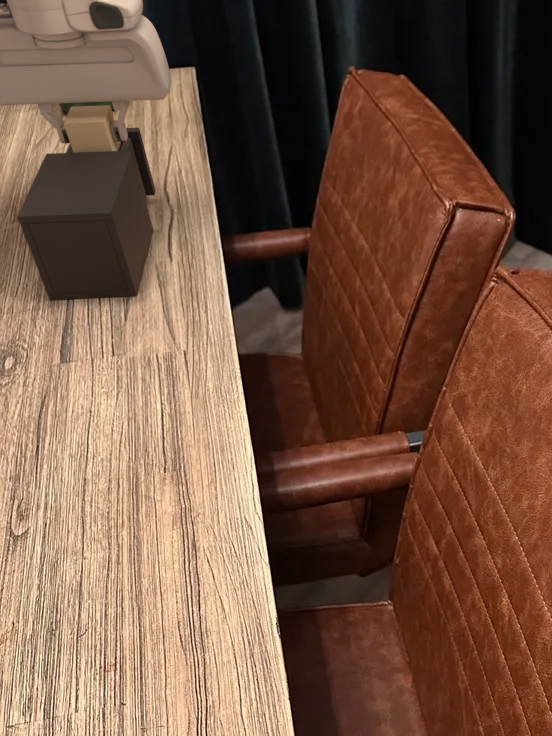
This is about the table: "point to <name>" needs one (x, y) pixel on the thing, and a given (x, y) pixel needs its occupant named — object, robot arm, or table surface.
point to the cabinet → (88, 225)
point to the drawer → (137, 159)
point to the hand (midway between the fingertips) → (95, 140)
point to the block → (90, 129)
